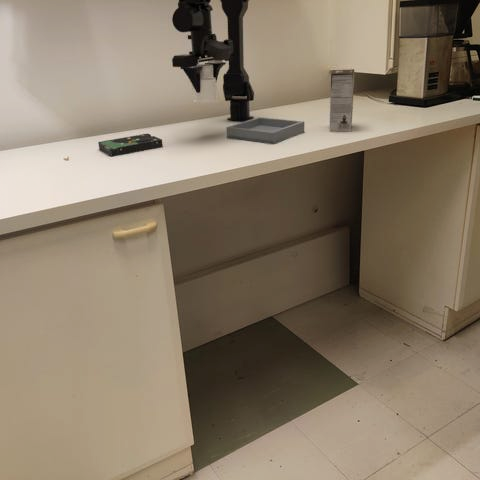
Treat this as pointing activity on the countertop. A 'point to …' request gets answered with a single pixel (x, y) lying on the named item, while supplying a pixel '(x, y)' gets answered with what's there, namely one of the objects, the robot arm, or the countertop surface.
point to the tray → (265, 130)
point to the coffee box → (341, 100)
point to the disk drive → (130, 144)
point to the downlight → (206, 86)
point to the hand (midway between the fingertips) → (205, 91)
